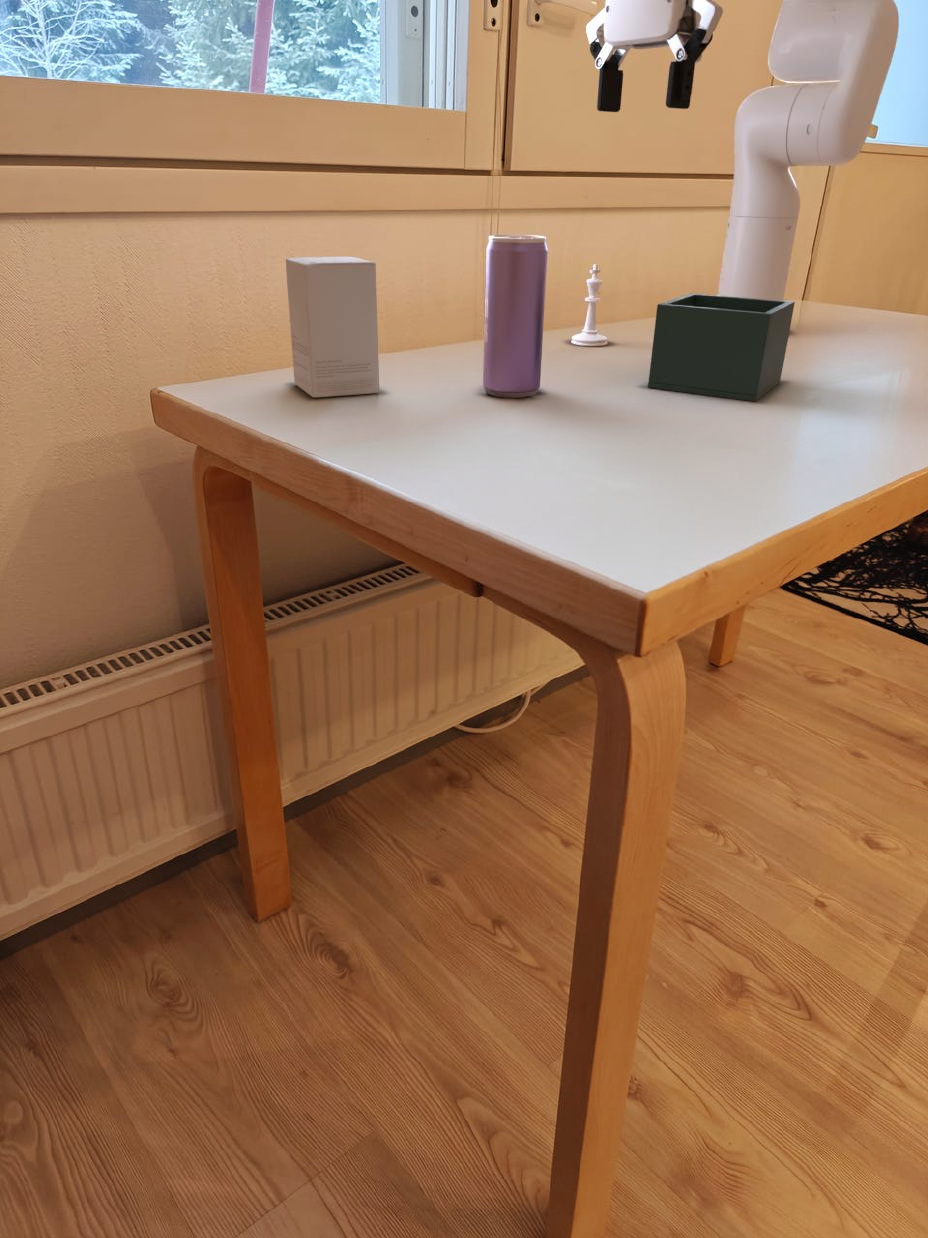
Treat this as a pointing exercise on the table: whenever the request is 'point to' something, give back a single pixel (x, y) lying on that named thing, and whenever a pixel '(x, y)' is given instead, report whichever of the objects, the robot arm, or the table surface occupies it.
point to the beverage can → (514, 314)
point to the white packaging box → (333, 325)
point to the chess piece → (591, 315)
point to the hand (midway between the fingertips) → (641, 109)
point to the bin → (720, 345)
